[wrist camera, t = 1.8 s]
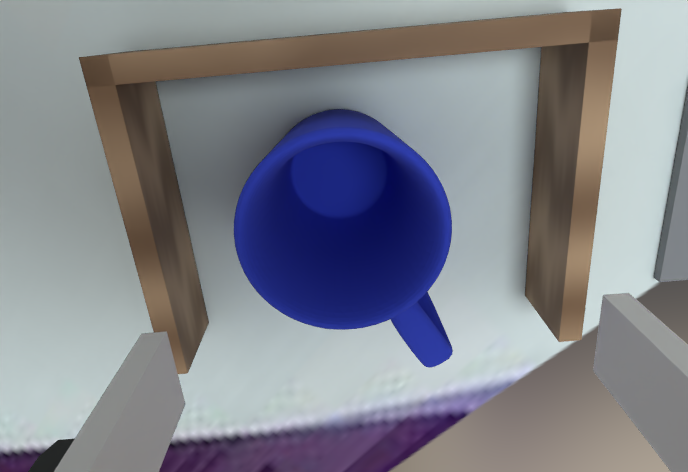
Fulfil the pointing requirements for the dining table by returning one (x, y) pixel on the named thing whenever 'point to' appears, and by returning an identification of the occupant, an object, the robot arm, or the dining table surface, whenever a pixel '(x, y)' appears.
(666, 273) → the mat
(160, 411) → the robot arm
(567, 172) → the wooden u-shaped frame
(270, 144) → the dining table surface
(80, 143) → the dining table surface
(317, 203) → the mug
